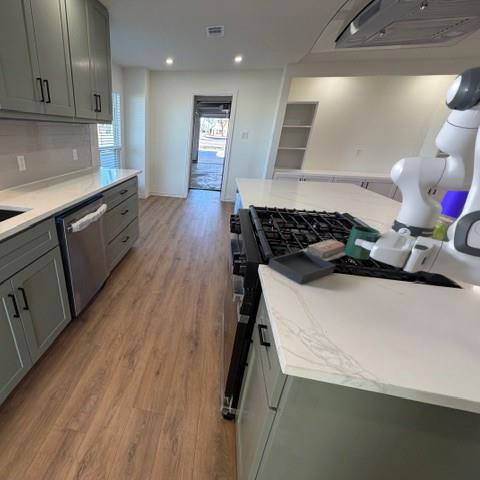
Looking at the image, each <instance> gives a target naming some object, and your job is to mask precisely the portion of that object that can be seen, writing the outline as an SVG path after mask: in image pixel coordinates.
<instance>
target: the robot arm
mask: <svg viewBox="0 0 480 480" xmlns="http://www.w3.org/2000/svg"><path fill="white" fill-rule="evenodd" d="M445 106H447V108H448V109H450V110H451V112H450V113H449V115H448V117H447V118H446V120H445V122H444V123H443V125H442V126H441V129H440V131H439V132H438V134H437V136H436V137H435V146H436V148H437V149H438V150H439V151H441V152H443V153H444V154H446V155H449V156H447V157H436V156H435V157H434V156H411V157H403V158H401V159H400V160H398V161H397V162H396V163H394V165H393V166H392V168H391V170H390V179H391V181H392V182H393V183H394V184H395V185H396V186H397V187H398V188H399V191H400V193H401V196H402V202H401V206H400V209H399V212H398V215H397V217H396V219H394V221H393V222H392V226H391V229H387V230H385V231H384V232H383V233H380V234H379V237H378V239H377V242H376V243H374V242H368V241H365V239H360V238H358V239H356V241H355V244H356V245H359V246H362V247H364V248H365V249H367V250H371V253H370V258H371V259H373V260H375V261H378V262H381V263H383V264H387V265H389V266H390V265H391V266H393V267H396V268H402V270H403V271H404V272H407V273H411V274H414V273H417V272H426V273H429V274H436V275H437V274H438V275H442V276H444V277H446V278H448V279H451V280H453V281H457V282H460V283H464V284H468V285H472V286H477V287H480V65H478V66H475V67H471V68H467V69H465V70H463V71H462V72H461V73H459V74H458V75H457V76H456V77H455V78H454V81H452V83H451V84H450V85H449V87H448V88H447V91H446V95H445ZM429 190H440V191H469V193H468V196H467V199H466V202H465V205H464V208H463V210H462V212H461V214H460V215H459V217H458V218H457V219H456V220H454V221H453V222H452V223H451V224H450V225H449V226H448V227H447V229H446V231H445V240H446V242H444V241H439V240H435V239H432V238H431V236H432V235H433V233H434V230H435V228H436V226H435V224H436V222H437V220H438V218H439V216H440V214H441V212H442V206H441V202H439V201H437V200H436V199H434V198H432V197H431V196H429V195H428V193H429Z"/></svg>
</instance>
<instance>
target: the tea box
mask: <svg viewBox="0 0 480 480" xmlns="http://www.w3.org/2000/svg"><path fill="white" fill-rule="evenodd" d="M454 220H456V218H453V217H450V216H447V215H444V214H440V216H439V218H438V220H437V222H436V224H435V226H436V228H435V230H434V233H433V235H432V236H431V238H432V239H435V240H439V241H444V242H446V240H445V231H446V229H447V227H448V226H449V225H450V224H451V223H452V222H453V221H454Z"/></svg>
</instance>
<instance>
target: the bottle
mask: <svg viewBox="0 0 480 480" xmlns="http://www.w3.org/2000/svg"><path fill="white" fill-rule="evenodd" d="M468 193H469V191H448V190H446V192H445V194H444V195H443V197H442V199H441V202H440V204H441V206H442V212H441V214H444V215H447V216H450V217H453V218H456V219H457V218H458V217H459V215H460V214H461V212H462V210H463V208H464V205H465V202H466V199H467V196H468Z"/></svg>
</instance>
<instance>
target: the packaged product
mask: <svg viewBox="0 0 480 480" xmlns="http://www.w3.org/2000/svg"><path fill="white" fill-rule="evenodd" d="M345 247H346V244H345V243H344V242H342V241H338V240H336V239H332V238H330V239H326V240H323V241H319V242H315V243H313V244H309V245H308V246H307V247H306V248H303V249H299V251H301V250H303V251H305V252H307V253H309V254H312V255H314V256H316V257H319V258H321V259H323V260H325V261H328V262H330V261H334V260H338V259H340V258H342V257H344V256H348V255H347V254H345V253H344V250H345Z"/></svg>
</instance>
